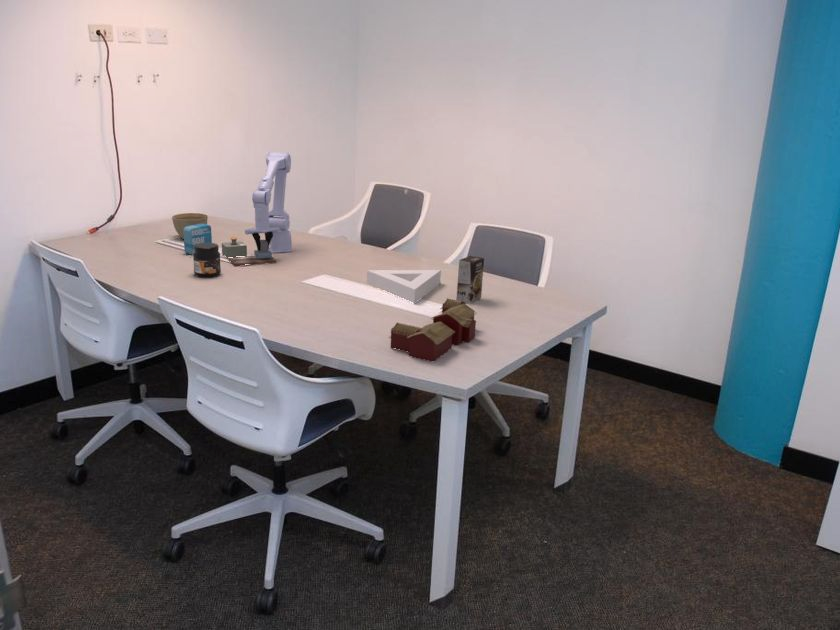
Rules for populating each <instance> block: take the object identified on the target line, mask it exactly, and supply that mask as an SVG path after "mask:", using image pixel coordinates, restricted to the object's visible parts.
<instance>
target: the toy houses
mask: <svg viewBox="0 0 840 630" xmlns="http://www.w3.org/2000/svg"><path fill="white" fill-rule="evenodd" d="M439 310H441V313H440V314H436V315H433V316H432V317H431V318H430V319H431V320H432V321H433V322H432V323H429V324H426V325H424V326H423V327H419V326H414V325H411V324H406V323H400V322H396V323H395V325H393V327H392V328H391V329H390V336H388V337H387V339H390V349H391V348H396V349H400V350H404V351H408V352H409V353H408V352H407V353H408V357H410V356H412V357H411V358H414V357H416V358H415V359H418V358H420V359H419V360H423V359H425V360H424V361H427V360H429V361H428V362H431V361H434V362H435V361H437V360H438V359H440V358H441V357H442V356H443V355H445V354H446V353H447V352H449V351H450V350H451V349H452V345H453V344H454V346H457V345H458V346H460V345H462V342H463V341H464V342H463V343H467V342H468V344H469V343H471V342H472V341H473V340H475V338H476V324H477V320H475V315H476V314H477V312H476V311H475V310H474V309H473V308H471V307H470V306H469V305H467V303H465V302H463V301H458V300H456V299H453V298H448V297H447V298H446V300H445V301H444V302H443V303H442V306H441V307H440V308H439ZM459 344H460V345H459ZM396 349H395V350H396ZM449 349H450V350H449ZM400 350H399V351H400ZM448 350H449V351H448ZM404 351H403V352H404ZM444 353H445V354H444ZM441 355H442V356H441ZM440 356H441V357H440ZM437 358H438V359H437ZM436 359H437V360H436Z"/></svg>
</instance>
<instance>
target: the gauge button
mask: <svg viewBox="0 0 840 630" xmlns="http://www.w3.org/2000/svg"><path fill="white" fill-rule="evenodd" d="M237 240H238V237H235V236H234V237H232V236H231V237H230V241H231V242H232V245H236V242H237Z"/></svg>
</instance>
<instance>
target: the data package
mask: <svg viewBox="0 0 840 630" xmlns="http://www.w3.org/2000/svg"><path fill="white" fill-rule="evenodd" d="M183 234H184V240H183V247H184V248H183V249H184V253H186V254H188V255H192V256H193V253H194V252H195V251H194V245H196V244H199V243H213V241H212V238H213V237H212V226H211V225H209V224H207V225H206V224H197V225H192V226H187V227H185V228H184V229H183Z"/></svg>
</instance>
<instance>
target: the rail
mask: <svg viewBox="0 0 840 630" xmlns="http://www.w3.org/2000/svg"><path fill="white" fill-rule="evenodd" d="M229 260H230V261H231V262H230V261H229ZM228 261H229V262H230V264H231V265H232V266H234V267H241V266H240V265H245V264H258V265H266V264H265V263H269V264H277V260H276V258H274V257H273V256H272V257H271V258H266V259H257V256H255V255H249V256H248V255H247V256H245V257H233V258H228Z"/></svg>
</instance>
